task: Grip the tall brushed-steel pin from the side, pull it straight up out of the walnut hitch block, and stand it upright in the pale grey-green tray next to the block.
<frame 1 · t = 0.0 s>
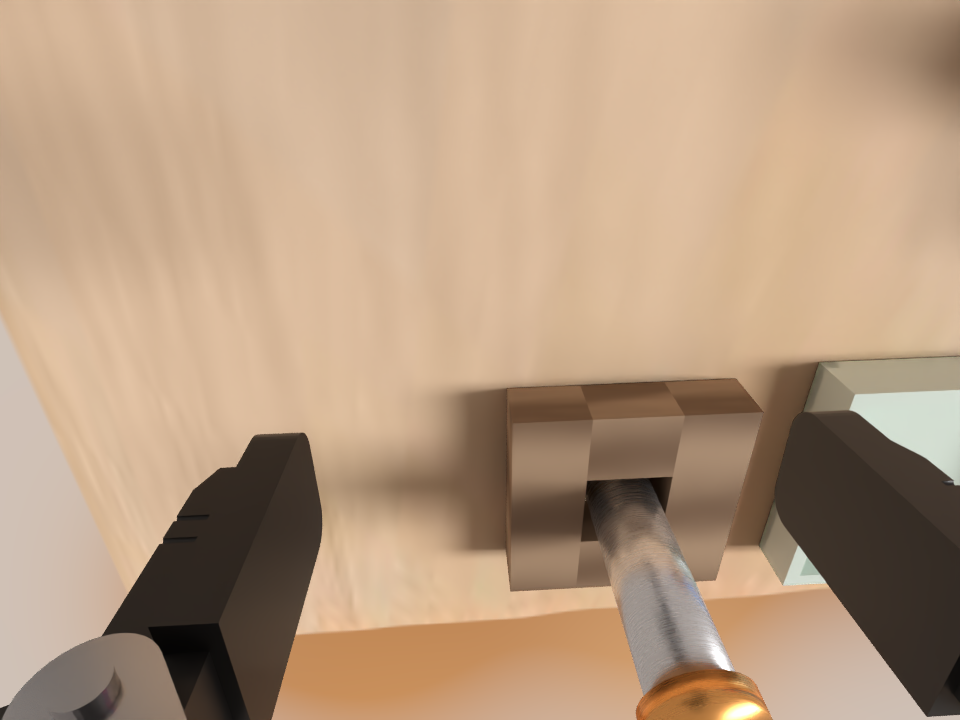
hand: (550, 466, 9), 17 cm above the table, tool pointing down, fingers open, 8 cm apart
hitch block: (611, 471, 32), on the table
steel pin: (610, 471, 32), resting in hitch block
tray: (900, 458, 33), on the table
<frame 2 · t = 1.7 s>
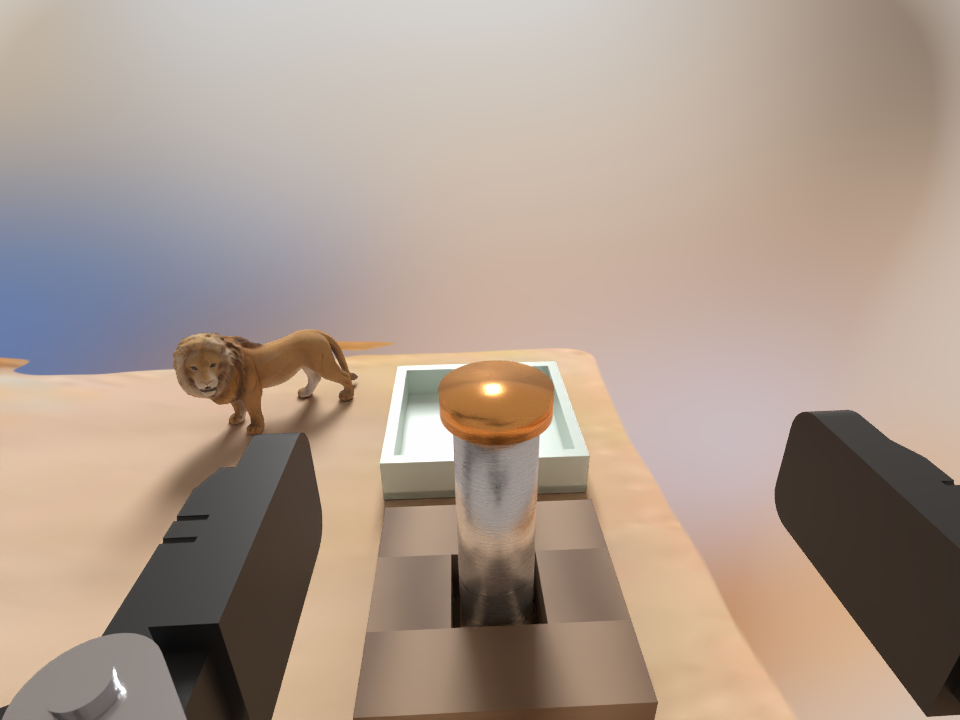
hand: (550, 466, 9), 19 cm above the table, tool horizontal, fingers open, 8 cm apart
lion figurine: (282, 418, 48), on the table
hitch block: (496, 628, 29), on the table
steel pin: (496, 628, 29), resting in hitch block
tray: (481, 437, 44), on the table
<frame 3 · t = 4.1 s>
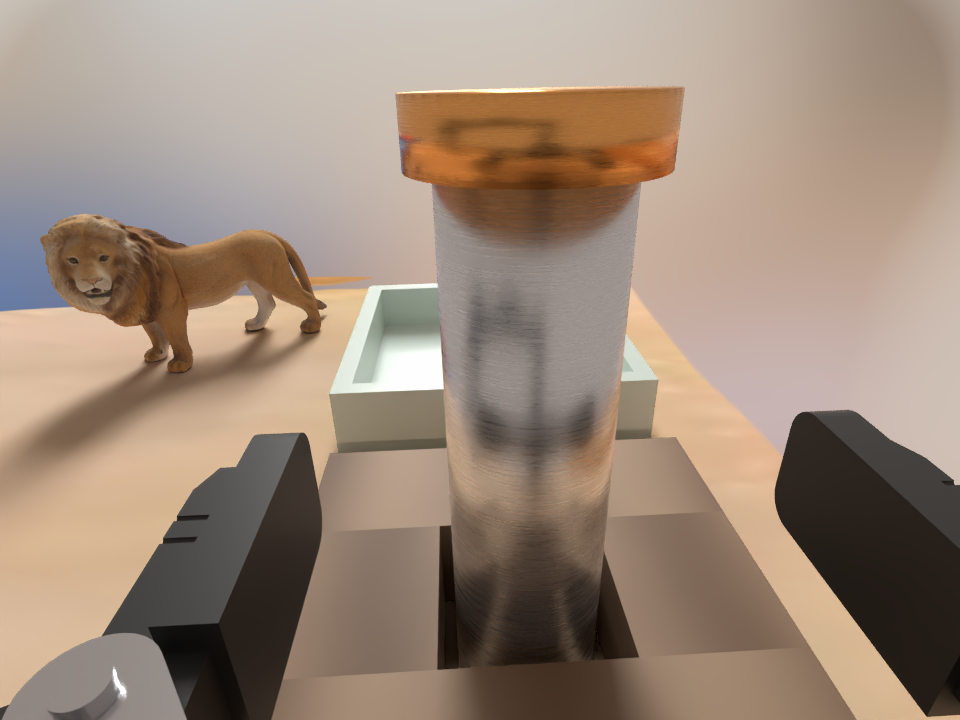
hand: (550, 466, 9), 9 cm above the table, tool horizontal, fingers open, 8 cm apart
lion figurine: (220, 354, 34), on the table
hitch block: (524, 661, 16), on the table
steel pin: (524, 662, 16), resting in hitch block
tray: (486, 374, 31), on the table
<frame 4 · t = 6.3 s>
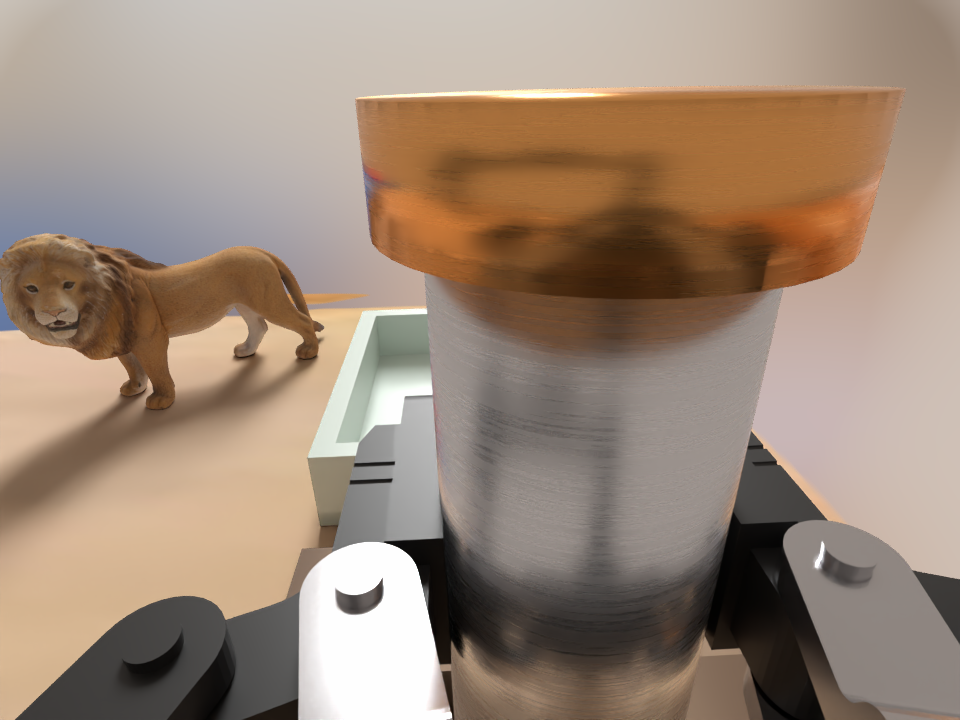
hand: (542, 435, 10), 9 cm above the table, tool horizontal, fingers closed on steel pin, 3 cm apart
lion figurine: (206, 386, 31), on the table
tray: (495, 417, 27), on the table
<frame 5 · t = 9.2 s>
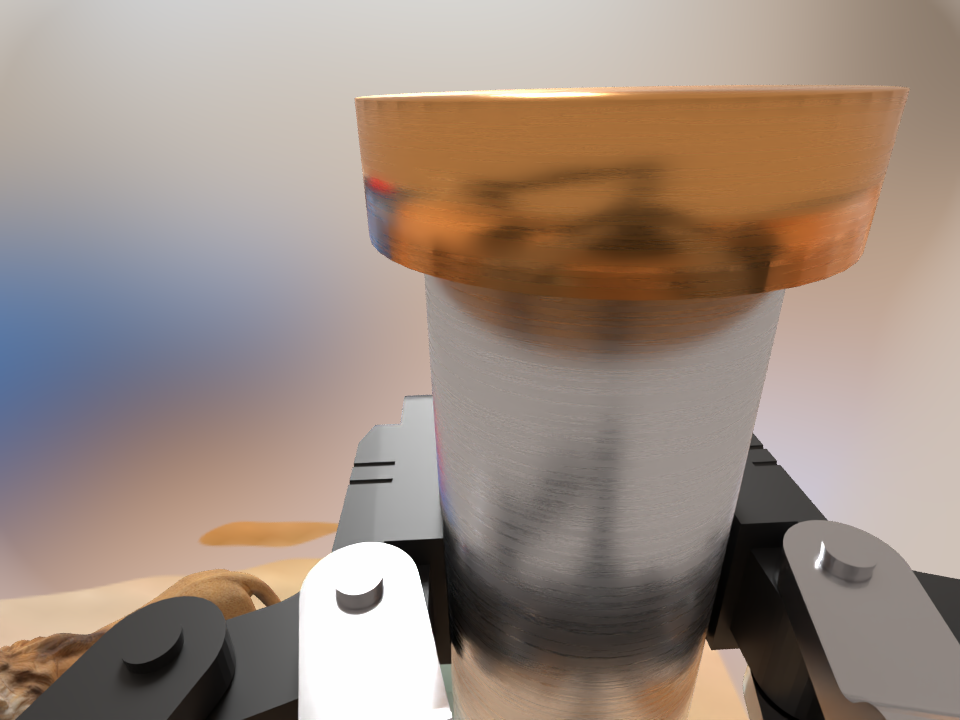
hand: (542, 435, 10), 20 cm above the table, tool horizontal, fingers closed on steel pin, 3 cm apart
when the fingers open (10 cm above the table, at t = 12.2 s): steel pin stays where it is, resting on tray.
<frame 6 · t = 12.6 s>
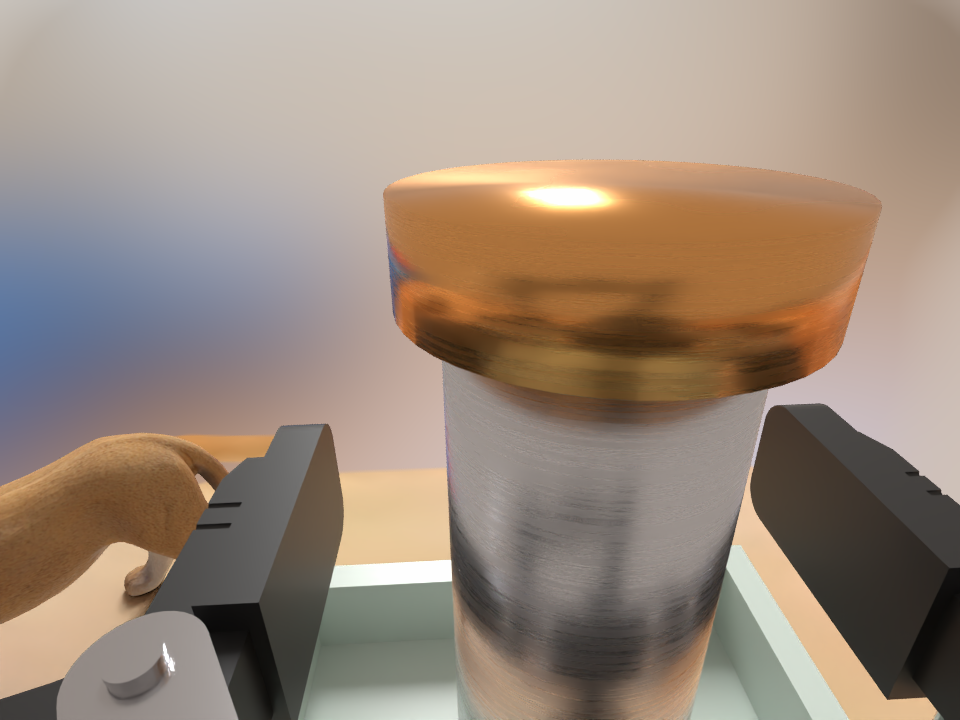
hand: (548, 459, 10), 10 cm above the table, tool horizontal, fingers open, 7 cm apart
lion figurine: (66, 684, 17), on the table
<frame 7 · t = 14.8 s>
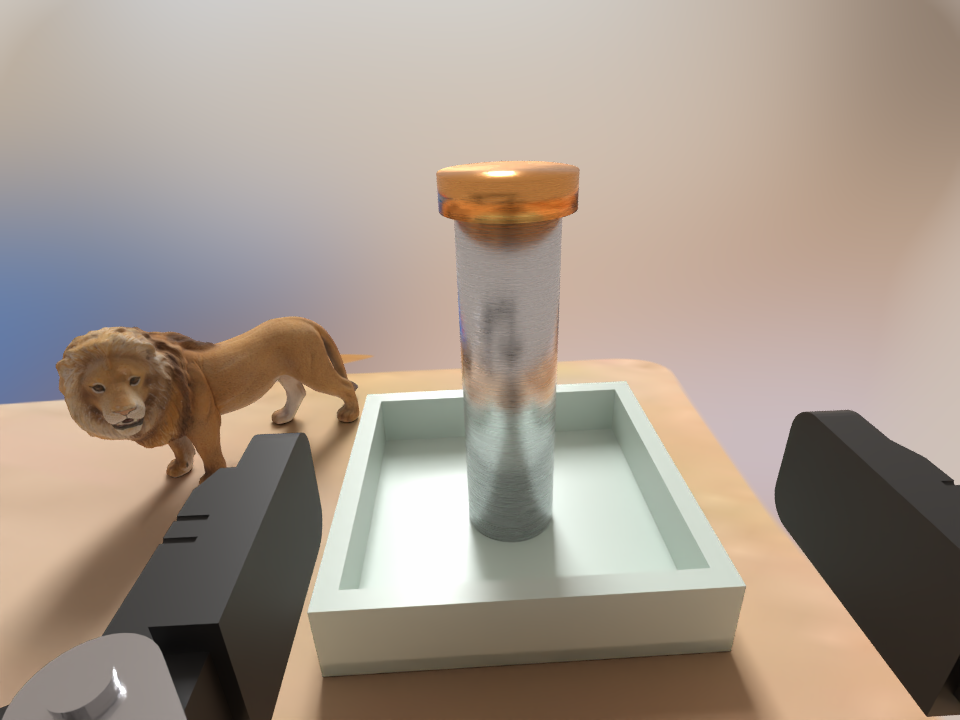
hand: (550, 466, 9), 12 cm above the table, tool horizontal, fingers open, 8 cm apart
lion figurine: (253, 459, 30), on the table
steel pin: (510, 511, 25), point 1 cm above the table, touching tray
tray: (509, 521, 25), on the table
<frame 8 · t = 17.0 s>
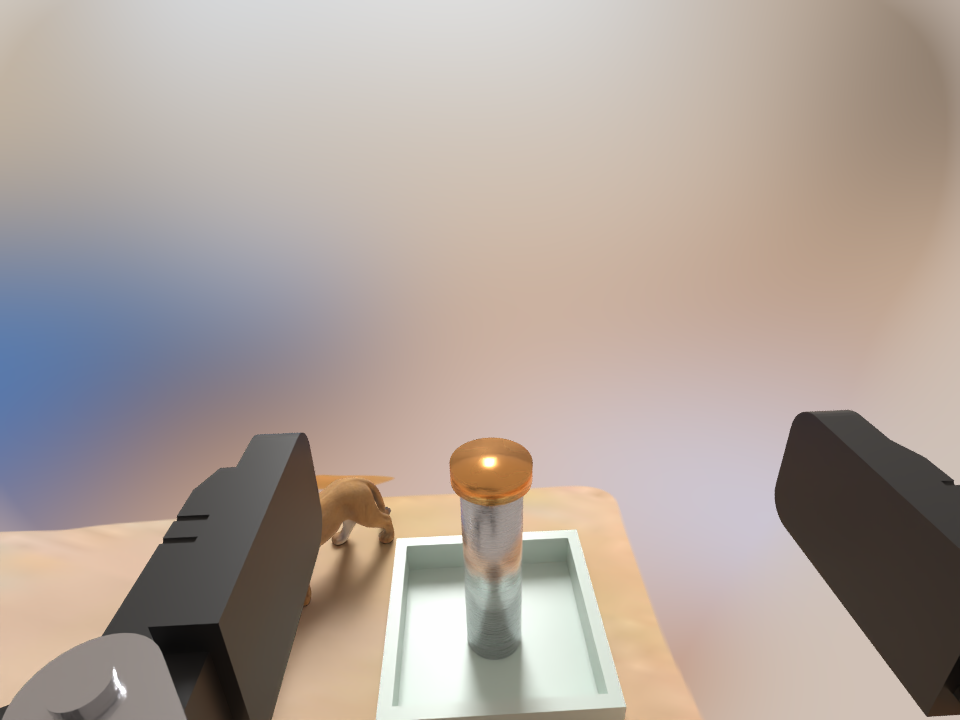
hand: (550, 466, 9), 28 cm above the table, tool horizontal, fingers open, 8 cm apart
lion figurine: (324, 576, 44), on the table
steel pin: (494, 635, 38), point 1 cm above the table, touching tray
tray: (493, 640, 38), on the table
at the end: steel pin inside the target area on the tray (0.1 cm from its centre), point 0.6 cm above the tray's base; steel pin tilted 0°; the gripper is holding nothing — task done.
